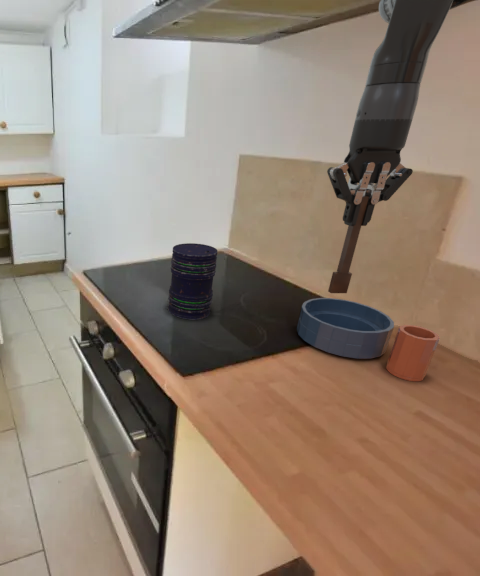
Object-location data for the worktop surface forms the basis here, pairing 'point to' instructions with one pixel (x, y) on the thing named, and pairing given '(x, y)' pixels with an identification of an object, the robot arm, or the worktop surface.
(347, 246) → the stirring stick
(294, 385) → the worktop surface
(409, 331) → the utensil holder
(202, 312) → the storage jar
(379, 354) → the bowl
